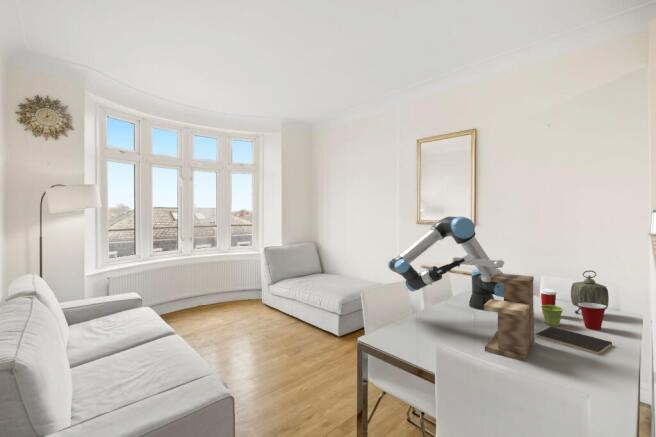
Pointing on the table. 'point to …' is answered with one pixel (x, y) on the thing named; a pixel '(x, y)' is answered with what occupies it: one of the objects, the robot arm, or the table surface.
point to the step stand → (513, 317)
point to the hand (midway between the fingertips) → (471, 256)
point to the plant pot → (552, 314)
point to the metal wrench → (483, 262)
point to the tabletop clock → (589, 292)
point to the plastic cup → (592, 315)
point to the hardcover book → (575, 340)
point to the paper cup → (548, 297)
